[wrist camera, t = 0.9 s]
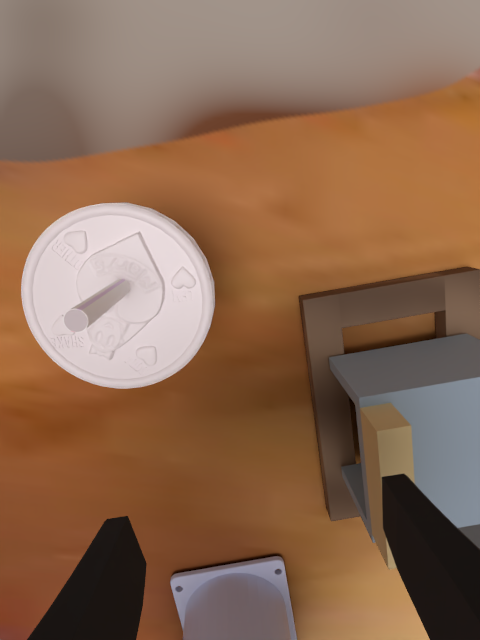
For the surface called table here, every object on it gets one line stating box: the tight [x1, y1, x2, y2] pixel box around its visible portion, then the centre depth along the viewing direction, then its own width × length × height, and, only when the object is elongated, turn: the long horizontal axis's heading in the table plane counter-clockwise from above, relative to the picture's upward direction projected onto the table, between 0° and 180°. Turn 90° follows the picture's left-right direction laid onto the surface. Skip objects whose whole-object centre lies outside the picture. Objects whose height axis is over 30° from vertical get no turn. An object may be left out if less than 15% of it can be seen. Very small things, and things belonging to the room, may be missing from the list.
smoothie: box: [21, 203, 215, 388], centre depth 16 cm, size 6×6×14 cm
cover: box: [329, 333, 480, 569], centre depth 20 cm, size 8×8×7 cm
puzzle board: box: [299, 267, 480, 521], centre depth 25 cm, size 15×20×1 cm
